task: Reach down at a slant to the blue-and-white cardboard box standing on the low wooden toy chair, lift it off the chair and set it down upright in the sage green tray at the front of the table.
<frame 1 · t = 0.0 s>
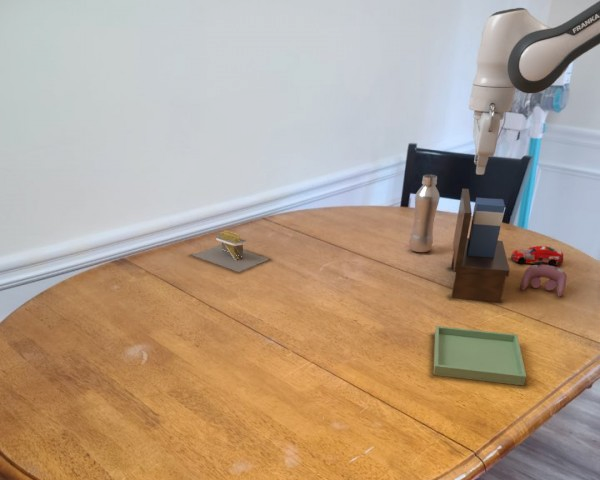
hand: (478, 168, 128), 26 cm above the table, tool pointing down, fingers open, 8 cm apart
wooden toy chair: (473, 283, 140), on the table
race car: (535, 262, 152), on the table
platform: (230, 257, 153), on the table
box: (480, 252, 135), point 8 cm above the table, touching wooden toy chair
tray: (476, 358, 110), on the table
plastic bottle: (419, 251, 158), on the table
video game controller: (541, 290, 137), on the table
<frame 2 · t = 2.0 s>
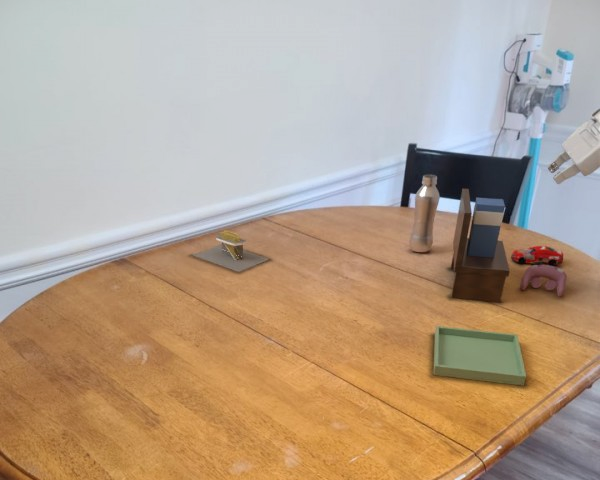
hand: (552, 175, 123), 26 cm above the table, tool tilted 45°, fingers open, 8 cm apart
nothing on the table moved.
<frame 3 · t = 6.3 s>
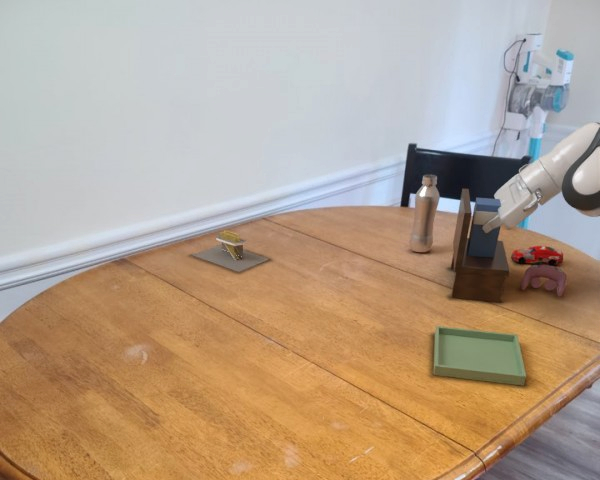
hand: (482, 225, 132), 15 cm above the table, tool tilted 45°, fingers closed on box, 5 cm apart
box: (480, 252, 135), point 8 cm above the table, touching gripper, wooden toy chair
everything else where it was.
when the fingers open (7 cm above the table, at t = 19.6 s): box stays where it is, resting on tray.
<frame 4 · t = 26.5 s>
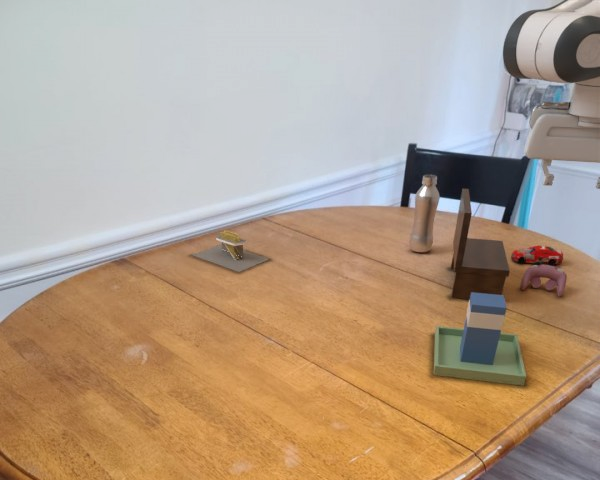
hand: (573, 186, 105), 29 cm above the table, tool pointing down, fingers open, 8 cm apart
box: (475, 356, 110), resting on tray
everything else where it was.
at the end: box inside the target area in the tray (0.1 cm from its centre), point 0.5 cm above the tray's base; box tilted 0°; box touching tray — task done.
